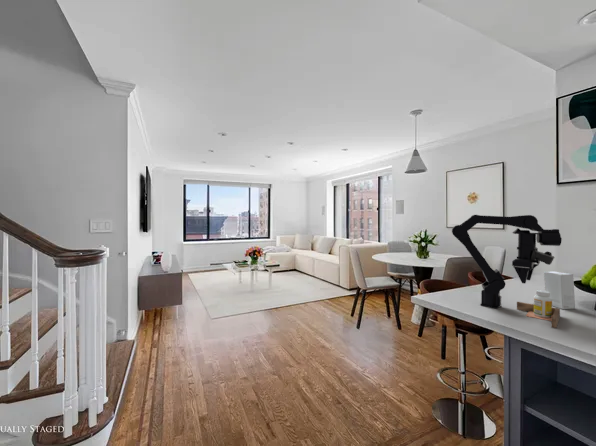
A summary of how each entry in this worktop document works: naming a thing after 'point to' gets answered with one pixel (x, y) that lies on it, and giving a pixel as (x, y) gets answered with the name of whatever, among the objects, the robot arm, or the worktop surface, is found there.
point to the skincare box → (560, 289)
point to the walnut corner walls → (531, 308)
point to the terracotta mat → (531, 314)
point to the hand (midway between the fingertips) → (526, 281)
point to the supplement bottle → (542, 304)
